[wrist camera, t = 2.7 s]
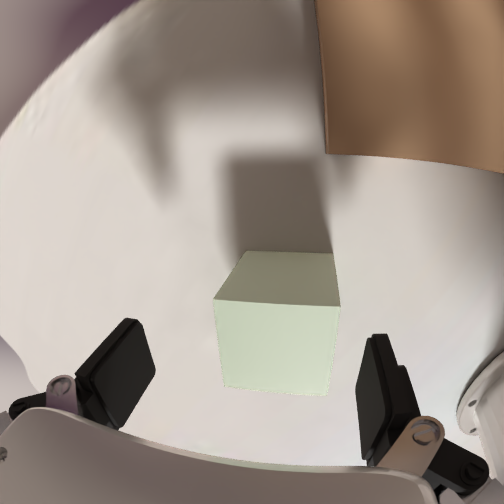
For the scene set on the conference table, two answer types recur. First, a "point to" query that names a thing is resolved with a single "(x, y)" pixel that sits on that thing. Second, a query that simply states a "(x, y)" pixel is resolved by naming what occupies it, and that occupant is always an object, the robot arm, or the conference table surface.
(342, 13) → the wooden square slab
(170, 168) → the conference table surface
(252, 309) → the sage block
